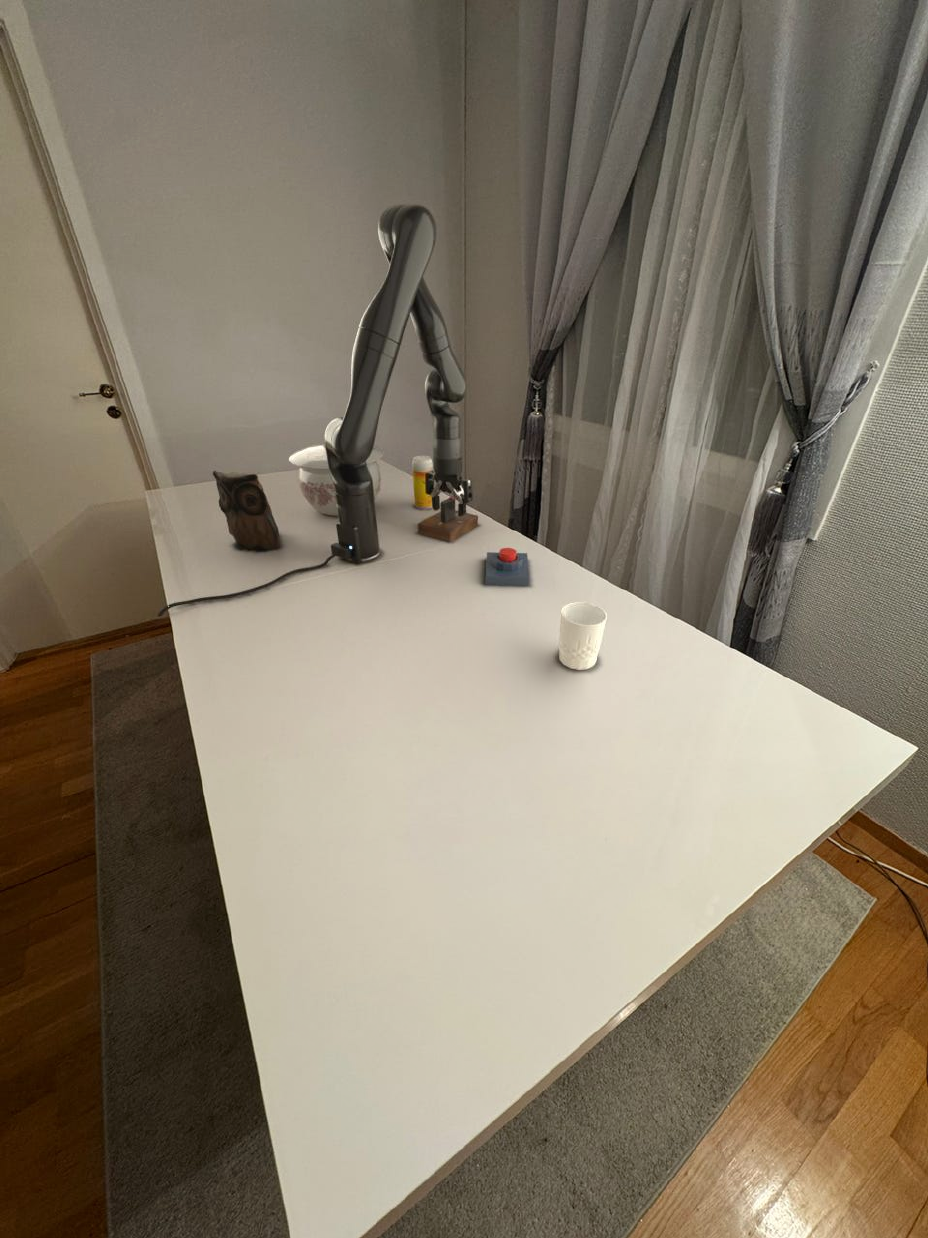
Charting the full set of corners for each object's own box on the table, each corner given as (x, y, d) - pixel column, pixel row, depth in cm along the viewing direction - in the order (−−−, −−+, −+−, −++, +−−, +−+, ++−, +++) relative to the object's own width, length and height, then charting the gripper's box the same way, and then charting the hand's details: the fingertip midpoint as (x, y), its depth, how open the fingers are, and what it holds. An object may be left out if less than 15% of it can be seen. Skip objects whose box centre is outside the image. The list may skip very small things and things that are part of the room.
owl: (283, 549, 136) (267, 474, 125) (232, 558, 132) (210, 481, 121) (276, 532, 146) (261, 460, 135) (229, 540, 142) (209, 466, 131)
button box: (528, 586, 119) (529, 570, 117) (485, 584, 120) (485, 569, 118) (526, 561, 130) (527, 546, 128) (486, 560, 131) (487, 545, 129)
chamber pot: (381, 525, 150) (374, 452, 139) (287, 525, 150) (272, 452, 139) (393, 493, 173) (388, 428, 162) (312, 492, 174) (301, 428, 163)
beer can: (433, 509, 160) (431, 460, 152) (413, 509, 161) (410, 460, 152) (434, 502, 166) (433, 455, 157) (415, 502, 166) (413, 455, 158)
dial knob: (445, 522, 144) (445, 502, 141) (440, 521, 144) (440, 501, 141) (455, 516, 147) (455, 497, 144) (451, 515, 148) (450, 496, 145)
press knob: (516, 563, 121) (516, 555, 120) (499, 562, 121) (499, 554, 120) (515, 555, 125) (516, 547, 124) (499, 555, 125) (499, 547, 124)
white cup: (601, 651, 98) (609, 606, 92) (596, 676, 92) (604, 629, 86) (559, 643, 100) (565, 598, 95) (552, 667, 94) (557, 621, 88)
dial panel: (450, 542, 140) (450, 531, 138) (418, 533, 145) (417, 522, 143) (477, 525, 150) (478, 515, 148) (446, 517, 155) (446, 507, 153)
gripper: (417, 453, 137) (420, 511, 145) (461, 461, 130) (462, 522, 139) (434, 447, 142) (436, 503, 151) (478, 454, 135) (477, 513, 144)
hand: (449, 512), depth 145 cm, fingers open, 8 cm apart
